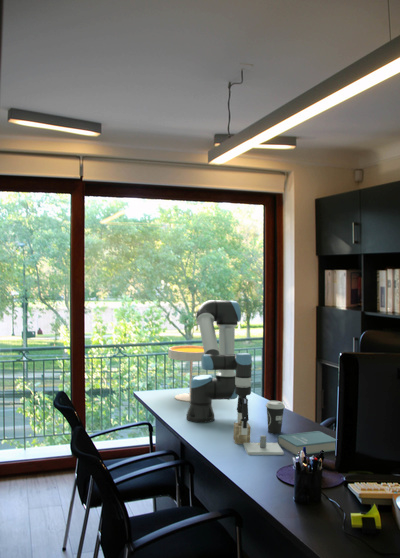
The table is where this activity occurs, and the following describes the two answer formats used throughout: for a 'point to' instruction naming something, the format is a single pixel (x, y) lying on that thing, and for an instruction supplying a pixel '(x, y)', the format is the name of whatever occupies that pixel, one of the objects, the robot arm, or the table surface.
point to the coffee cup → (275, 416)
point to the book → (307, 442)
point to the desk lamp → (186, 355)
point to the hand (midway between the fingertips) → (242, 430)
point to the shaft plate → (263, 448)
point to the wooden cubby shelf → (237, 434)
